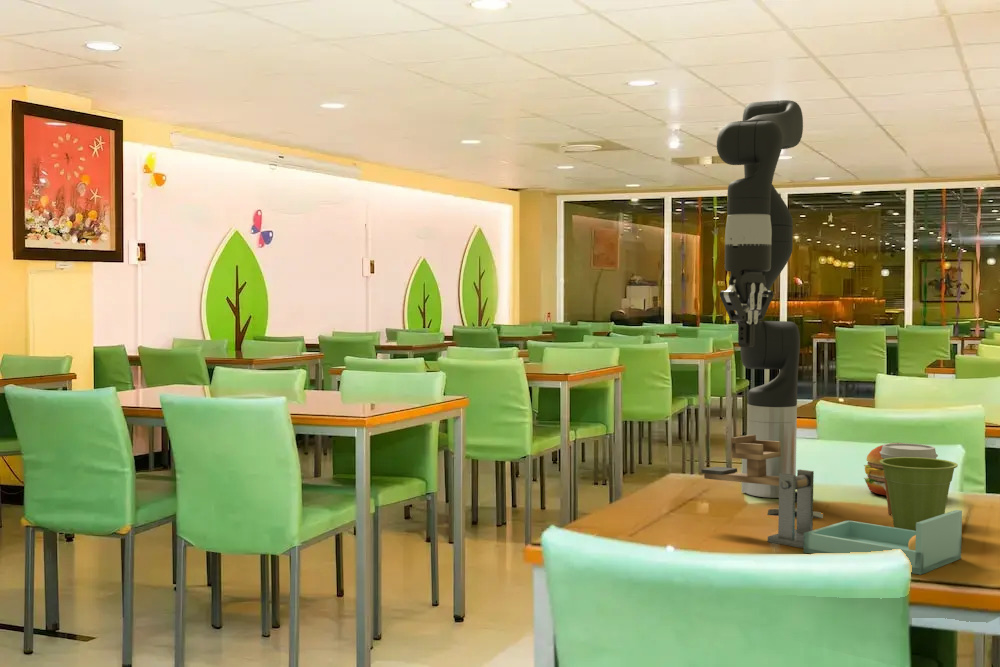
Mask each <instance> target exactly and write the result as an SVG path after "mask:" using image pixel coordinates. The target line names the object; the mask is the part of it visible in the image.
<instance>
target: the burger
mask: <svg viewBox="0 0 1000 667" xmlns="http://www.w3.org/2000/svg"><path fill="white" fill-rule="evenodd" d="M888 444H890V442H889V443H888ZM883 445H884V444H882V445H879V446H877V447H875V448H873V449H871V450H870V452H869V453H868V454H867V456H866V460H865V461H866V462H867V464H863V466H864V472H865V474H866V477H863V479H864V481H865V483H866V485H867V488H868V489H869V491H870V492H872V493H874V494H878V495H881V496H882V495H883V496H886V497H887V495H886V487H885V478H884V469H883V465H882V464H880V460H882V457H881V454H880V451H881V450H882V446H883Z"/></svg>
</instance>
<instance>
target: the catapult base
mask: <svg viewBox="0 0 1000 667" xmlns="http://www.w3.org/2000/svg"><path fill="white" fill-rule="evenodd" d="M814 473H815V472H814V470H807V469H796V475H791V474H784V473H780V474H779V498H778V509H779V516H778V521H777V522H778V526H777V527H778V529H777V531H778V532H777V533H775V534H772V535H769V536H768V535H767V542H768V543H771V544H772V543H773V544H778V545H783V546H787V547H788V546H789V547H793V548H794V547H795V548H801V549H804V533H805V532H809V531H812V530H814V529H813V523H814V522H813V520H814V518H813V511H814V478H815V476H814ZM799 475H805V476H806V477H807V478H808V480H809V484H808V486H807V487H805V488H801V489H796V490H795V484H796V476H799ZM795 491H797V503H795ZM795 509H797V517H795ZM795 523H796V524H795ZM795 526H796V527H795Z"/></svg>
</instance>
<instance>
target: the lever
mask: <svg viewBox="0 0 1000 667" xmlns="http://www.w3.org/2000/svg"><path fill="white" fill-rule="evenodd" d="M730 447H731V448H730V449H731V458H732V459H741V460H742V459H747V474H745V473H742V472H738V467H735V468H734V467H725V466H713V467H707V468H701V471H700V472H701V474H704V478H703V479H705V480H706V479H707V480H716V481H725V482H726V481H727V482H734V483H735V482H736V483H737V482H738V483H742V482H745V483H755V484H766V485H776V486H779V477H778V476H767V475H766V459H769V458H775V457H780V456H781V444H780V441H766V440H756V435H747V434H746V435H741V436H734V437H731V438H730ZM808 484H809V480H808V478H807V477H806V476H805V475H799V476H797V475H796V484H795V491H797V489H801V488H805V487H807V486H808Z"/></svg>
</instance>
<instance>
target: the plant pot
mask: <svg viewBox="0 0 1000 667" xmlns="http://www.w3.org/2000/svg"><path fill="white" fill-rule="evenodd" d="M880 464H882V465H883V469H884V474H885V478H886V479H887V485H888V492H889V498H890V504H891V511H892V515H891V516H892V522H893V527H895V528H901V529H907V530H914V531H916V523H917V522H920V521H923V520H927V519H930V518H933V517H936V516H939V515H942V514H945V513H946V507H947V503H948V502H947V501H948V496H949V490H950V485H951V482H952V481H953V476H954V472H955V471H954V470H955V469H956V468H958V466H959V464H958V463H957V462H955V461H951V460H948V459H947V460H946V459H940V458H936V459H932V458H920V457H894V458H885V459H882V460H880Z"/></svg>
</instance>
